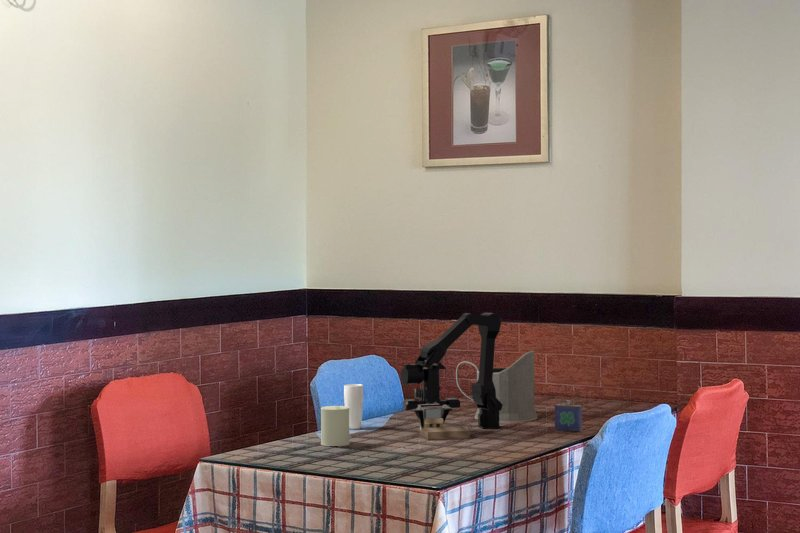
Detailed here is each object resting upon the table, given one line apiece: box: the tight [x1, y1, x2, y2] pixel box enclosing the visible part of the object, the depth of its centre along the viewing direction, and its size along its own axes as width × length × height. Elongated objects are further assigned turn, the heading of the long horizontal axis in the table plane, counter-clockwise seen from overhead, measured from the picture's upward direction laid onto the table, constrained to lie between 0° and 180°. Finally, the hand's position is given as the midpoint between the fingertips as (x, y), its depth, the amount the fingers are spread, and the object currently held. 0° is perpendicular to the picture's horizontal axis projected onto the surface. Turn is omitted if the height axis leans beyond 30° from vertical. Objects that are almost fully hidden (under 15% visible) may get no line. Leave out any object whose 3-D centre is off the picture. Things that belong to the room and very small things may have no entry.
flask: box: [554, 399, 583, 433], centre depth 334 cm, size 9×3×11 cm, turn 68°
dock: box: [420, 425, 471, 441], centre depth 325 cm, size 14×9×2 cm, turn 103°
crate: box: [422, 406, 441, 419], centre depth 334 cm, size 5×5×3 cm
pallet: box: [419, 417, 444, 432], centre depth 334 cm, size 6×8×5 cm
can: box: [320, 405, 351, 447], centre depth 313 cm, size 9×9×12 cm
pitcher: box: [455, 350, 538, 423], centre depth 370 cm, size 23×32×25 cm
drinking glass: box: [343, 383, 364, 430], centre depth 344 cm, size 7×7×15 cm
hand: (431, 429), depth 334 cm, fingers closed on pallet, 6 cm apart
